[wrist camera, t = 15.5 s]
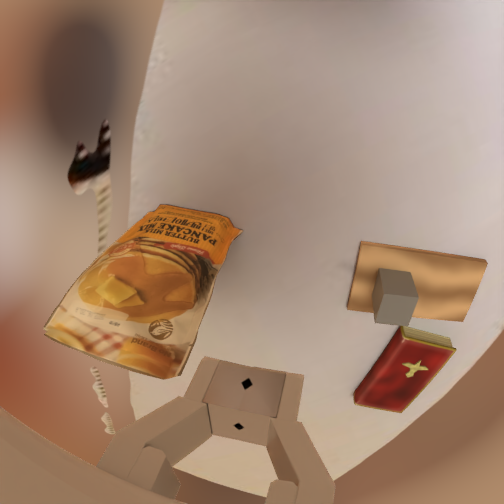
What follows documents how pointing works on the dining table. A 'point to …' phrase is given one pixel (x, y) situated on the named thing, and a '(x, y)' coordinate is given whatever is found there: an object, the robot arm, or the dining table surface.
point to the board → (420, 279)
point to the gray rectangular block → (394, 297)
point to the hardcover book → (403, 369)
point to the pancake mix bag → (146, 292)
